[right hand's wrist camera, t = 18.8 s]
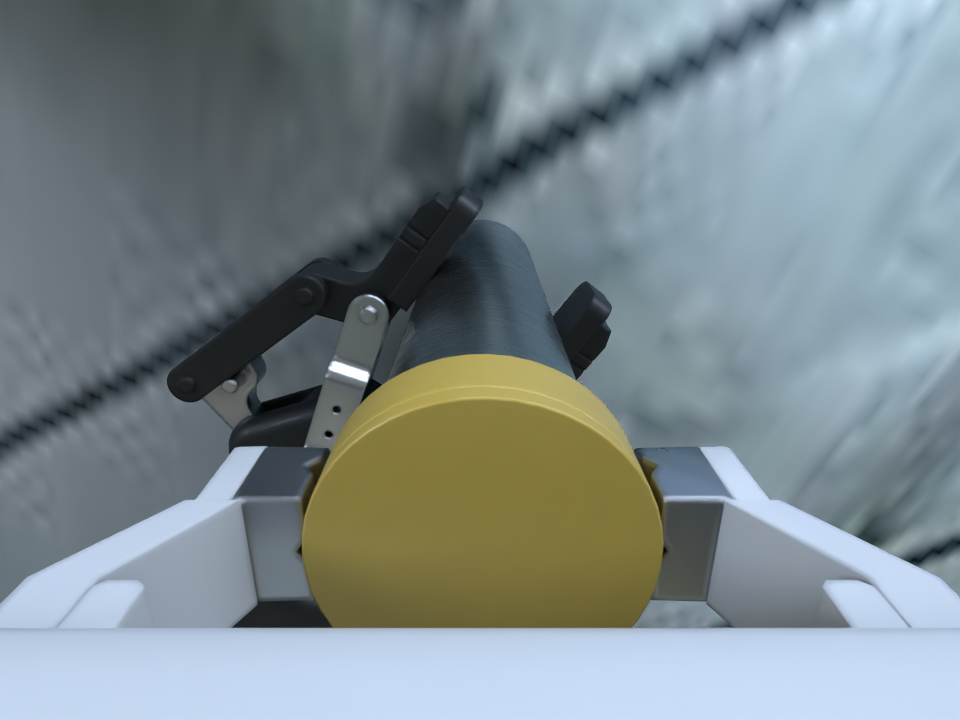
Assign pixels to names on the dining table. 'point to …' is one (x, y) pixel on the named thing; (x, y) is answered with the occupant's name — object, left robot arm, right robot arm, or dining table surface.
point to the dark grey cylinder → (483, 306)
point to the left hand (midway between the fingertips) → (535, 247)
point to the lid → (482, 505)
